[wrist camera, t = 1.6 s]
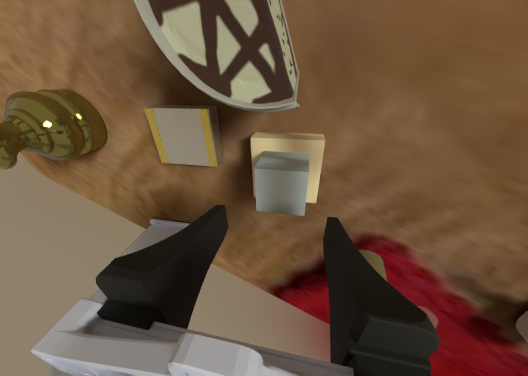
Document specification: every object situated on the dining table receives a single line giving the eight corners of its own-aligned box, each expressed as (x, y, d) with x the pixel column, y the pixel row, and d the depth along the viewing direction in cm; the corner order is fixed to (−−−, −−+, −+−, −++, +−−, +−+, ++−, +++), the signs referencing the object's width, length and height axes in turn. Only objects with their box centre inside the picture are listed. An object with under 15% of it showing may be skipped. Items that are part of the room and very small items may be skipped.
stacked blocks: (258, 186, 24) (244, 219, 19) (255, 130, 21) (237, 152, 16) (315, 191, 23) (317, 228, 18) (323, 133, 20) (329, 157, 14)
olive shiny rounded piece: (119, 147, 26) (27, 187, 17) (76, 149, 27) (-27, 186, 19) (86, 84, 22) (-52, 95, 13) (39, 91, 23) (-110, 105, 15)
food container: (181, -51, 15) (12, -205, 6) (255, -109, 13) (149, -453, 4) (244, 113, 20) (197, 147, 12) (303, 92, 18) (298, 114, 10)
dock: (171, 156, 25) (161, 162, 23) (156, 104, 21) (143, 108, 20) (224, 159, 23) (217, 166, 22) (216, 105, 20) (208, 109, 18)
